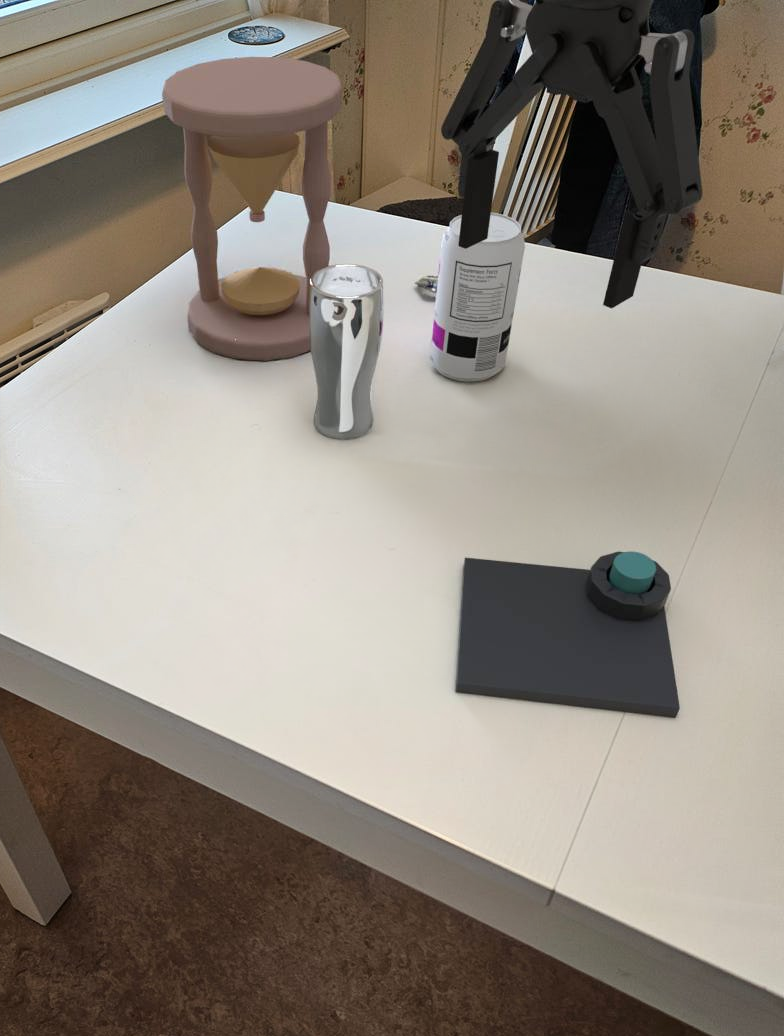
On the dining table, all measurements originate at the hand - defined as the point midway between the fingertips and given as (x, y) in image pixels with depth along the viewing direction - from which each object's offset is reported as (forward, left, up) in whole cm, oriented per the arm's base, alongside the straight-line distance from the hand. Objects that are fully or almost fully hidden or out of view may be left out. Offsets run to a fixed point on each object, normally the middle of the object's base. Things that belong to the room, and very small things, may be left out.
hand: (541, 270), depth 69 cm
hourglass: (+28, -28, -21) cm, 45 cm away
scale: (-5, +18, -21) cm, 28 cm away
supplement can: (+4, -22, -21) cm, 31 cm away
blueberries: (+7, -39, -21) cm, 45 cm away
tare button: (-10, +14, -18) cm, 25 cm away
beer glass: (+16, -9, -21) cm, 28 cm away
